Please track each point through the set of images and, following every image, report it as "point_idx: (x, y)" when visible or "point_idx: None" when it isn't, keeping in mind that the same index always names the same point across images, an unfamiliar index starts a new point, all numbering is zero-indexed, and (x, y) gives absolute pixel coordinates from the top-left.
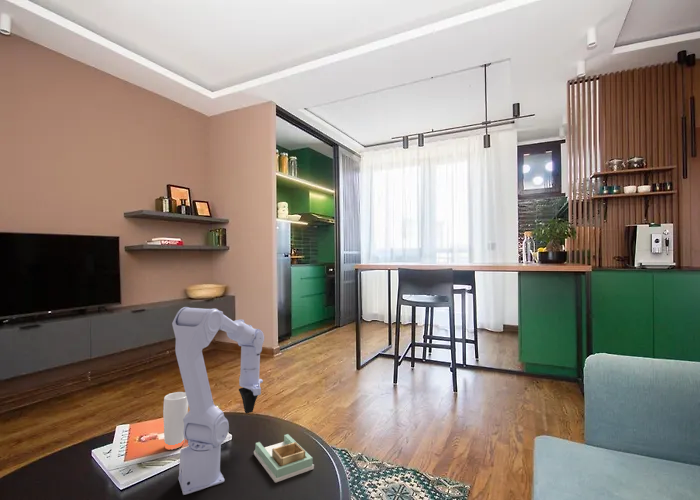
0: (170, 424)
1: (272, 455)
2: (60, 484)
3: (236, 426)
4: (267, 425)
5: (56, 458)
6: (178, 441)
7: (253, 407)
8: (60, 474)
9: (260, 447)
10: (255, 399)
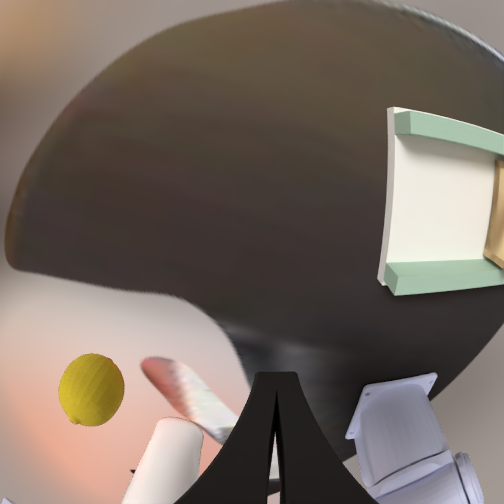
0: None
1: (499, 264)
2: None
3: (93, 267)
4: (132, 131)
5: None
6: (198, 444)
7: (304, 399)
8: None
9: (438, 287)
10: (344, 468)
